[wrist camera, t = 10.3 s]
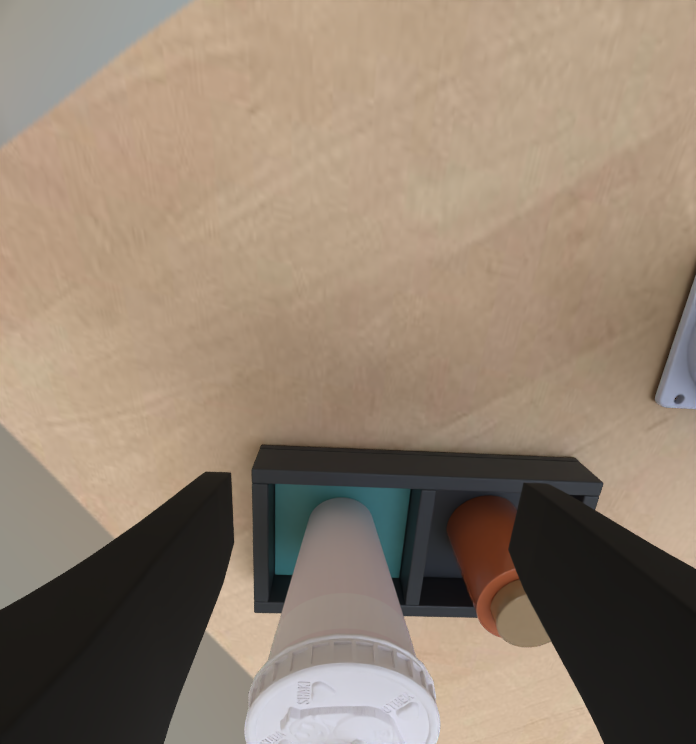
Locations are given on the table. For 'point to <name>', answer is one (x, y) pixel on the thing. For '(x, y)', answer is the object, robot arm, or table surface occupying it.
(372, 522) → the smoothie
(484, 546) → the spice pot
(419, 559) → the holder
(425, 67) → the table surface
